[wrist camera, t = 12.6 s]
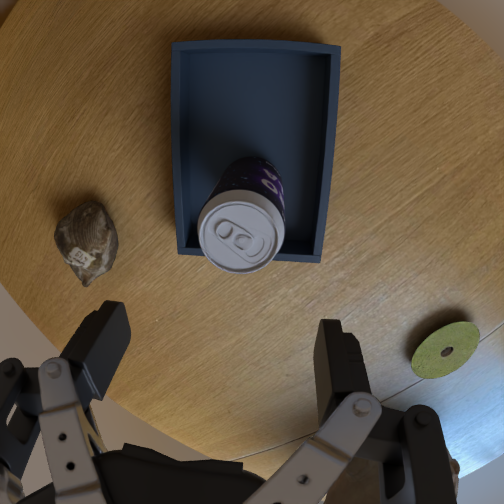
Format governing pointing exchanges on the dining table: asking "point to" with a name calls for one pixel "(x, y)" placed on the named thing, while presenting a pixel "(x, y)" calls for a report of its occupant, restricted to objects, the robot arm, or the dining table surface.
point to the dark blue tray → (255, 129)
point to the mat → (445, 350)
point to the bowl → (367, 483)
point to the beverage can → (243, 217)
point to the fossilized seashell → (87, 241)
